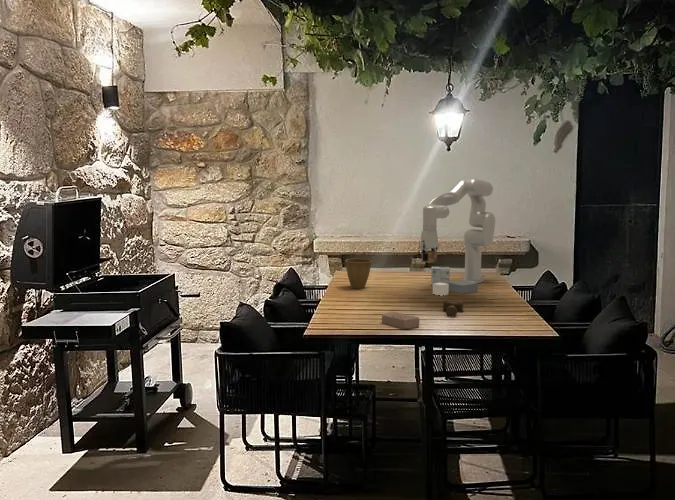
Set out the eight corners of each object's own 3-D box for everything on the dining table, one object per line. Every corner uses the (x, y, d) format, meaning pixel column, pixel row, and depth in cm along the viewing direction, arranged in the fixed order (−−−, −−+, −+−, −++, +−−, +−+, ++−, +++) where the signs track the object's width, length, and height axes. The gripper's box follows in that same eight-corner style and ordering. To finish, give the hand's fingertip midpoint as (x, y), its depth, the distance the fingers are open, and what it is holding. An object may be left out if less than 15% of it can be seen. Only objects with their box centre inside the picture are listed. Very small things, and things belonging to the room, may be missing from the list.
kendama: (440, 317, 297) (443, 307, 316) (461, 319, 295) (463, 309, 314) (440, 305, 296) (444, 295, 316) (462, 306, 294) (464, 297, 313)
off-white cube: (439, 293, 353) (440, 282, 352) (448, 294, 349) (448, 283, 348) (432, 294, 349) (432, 283, 349) (441, 296, 345) (441, 285, 344)
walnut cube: (428, 260, 366) (428, 250, 365) (436, 261, 361) (436, 251, 361) (421, 261, 362) (421, 251, 361) (429, 263, 357) (429, 252, 357)
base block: (461, 288, 368) (461, 280, 367) (477, 292, 358) (477, 283, 357) (446, 291, 361) (446, 282, 360) (462, 294, 351) (462, 285, 350)
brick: (380, 323, 285) (380, 312, 285) (394, 320, 290) (394, 310, 290) (405, 330, 272) (406, 320, 272) (420, 328, 277) (420, 317, 277)
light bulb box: (449, 284, 379) (449, 266, 378) (449, 286, 372) (450, 268, 371) (430, 284, 380) (431, 266, 379) (431, 286, 373) (431, 268, 372)
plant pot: (341, 289, 364) (341, 261, 362) (350, 284, 377) (350, 257, 375) (366, 291, 358) (366, 262, 356) (374, 286, 372) (375, 259, 370)
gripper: (434, 226, 368) (434, 257, 370) (414, 228, 356) (413, 260, 359) (444, 227, 362) (444, 259, 364) (424, 229, 351) (423, 262, 353)
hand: (429, 259), depth 361 cm, fingers closed on walnut cube, 6 cm apart
